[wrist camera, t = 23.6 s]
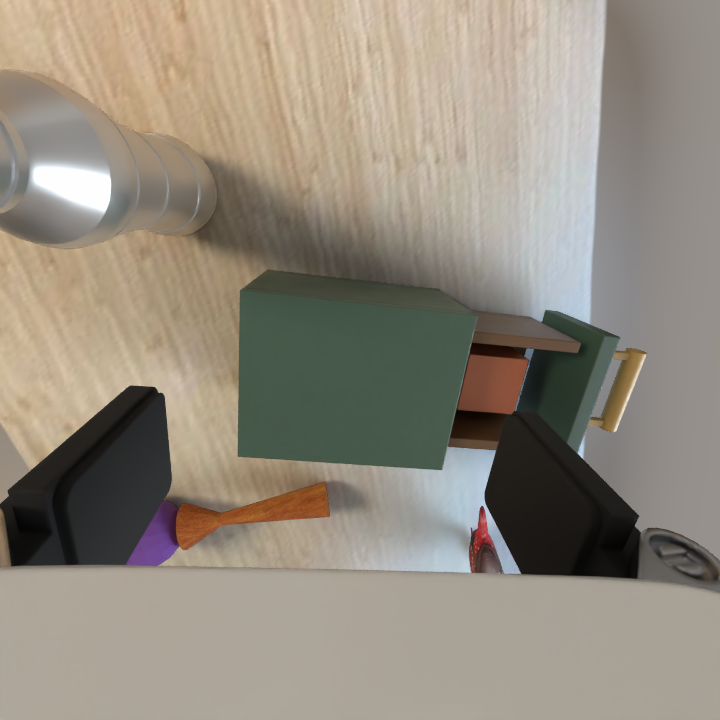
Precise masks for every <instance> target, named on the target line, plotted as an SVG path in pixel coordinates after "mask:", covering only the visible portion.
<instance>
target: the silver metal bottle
mask: <svg viewBox="0 0 720 720" xmlns="http://www.w3.org/2000/svg"><path fill="white" fill-rule="evenodd" d="M216 202H217V189H216V184H215V181H214V178H213V176H212V173H211V171H210V170H209V168H208V166H207V165H206V163H205V162H204V161H203V160H202V159H201V157H200V156H199V155H198V154H197V153H196V152H195V151H194V150H193V149H192V148H191V147H189V146H188V145H187V144H185V143H184V142H182V141H180V140H179V139H177V138H174V137H171V136H168V135H164V134H157V133H151V132H143V133H142V132H138V131H134V130H131V129H129V128H127V127H126V126H124V125H122V124H120V123H118V122H117V121H115V120H114V119H113V118H111V117H110V116H109V115H107V114H106V113H105V112H103V111H102V110H101V109H100V108H98V107H97V106H96V105H94V104H93V103H92V102H90V101H89V100H88V99H87V98H85V97H83V96H82V95H80V94H78V93H77V92H75V91H74V90H72V89H70V88H68V87H67V86H65V85H63V84H62V83H60V82H58V81H56V80H54V79H52V78H49V77H46V76H44V75H41V74H38V73H34V72H28V71H22V70H10V69H0V230H2V231H4V232H6V233H8V234H10V235H12V236H14V237H17V238H20V239H23V240H26V241H30V242H33V243H36V244H40V245H43V246H47V247H52V248H60V249H74V248H82V247H86V246H90V245H94V244H98V243H101V242H104V241H106V240H109V239H111V238H114V237H116V236H118V235H121V234H123V233H125V232H131V231H135V230H146V231H150V232H153V233H156V234H160V235H166V236H184V235H188V234H191V233H193V232H195V231H197V230H199V229H200V228H201V227H202V226H203V225H205V224H206V223H207V222H208V221H209V219H210V218H211V216H212V215H213V213H214V210H215V208H216Z"/></svg>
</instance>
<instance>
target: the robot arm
mask: <svg viewBox="0 0 720 720" xmlns="http://www.w3.org/2000/svg"><path fill="white" fill-rule="evenodd" d="M171 481H172V474H171V463H170V452H169V440H168V429H167V418H166V406H165V397H164V395H163V393H158V391H157V389H156V388H155V387H146V386H129V387H128V388H126V389H125V390H124V391H123V392H122V393H121V394H119V395H118V396H117V397H116V398H115V399H114V400H112V401H111V402H110V403H109V404H108V405H107V406H105V407H104V408H103V409H102V410H101V411H100V412H98V413H97V414H96V415H95V416H94V417H93V418H91V419H90V420H89V421H88V422H87V423H86V424H84V425H83V426H82V427H81V428H80V429H79V430H77V431H76V432H75V433H74V434H73V435H72V436H70V437H69V438H68V439H67V440H66V441H65V442H63V443H62V444H61V445H60V446H59V447H58V448H56V449H55V450H54V451H53V452H52V453H51V454H50V455H48V456H47V457H46V458H45V459H44V460H43V461H41V462H40V463H39V464H38V465H37V466H36V467H34V468H33V469H32V470H31V471H30V472H29V473H28V474H26V475H25V476H24V477H23V478H22V479H20V480H19V481H18V482H17V483H16V484H15V485H13V486H12V487H11V488H10V489H9V490H8V494H9V497H7V498H6V499H5V500H4V501H3V502H2V503H1V504H0V720H720V561H719V559H718V558H716V557H715V556H714V555H713V554H711V553H710V552H709V551H708V550H707V549H705V548H704V547H702V546H701V545H699V544H698V543H696V542H695V541H693V540H690V539H688V538H687V537H685V536H683V535H681V534H678V533H675V532H672V531H669V530H666V529H660V528H648V529H645V530H643V531H642V532H640V531H639V530H638V529H637V528H636V527H635V524H636V522H637V519H638V517H639V515H638V514H637V513H636V512H635V511H634V510H633V509H632V508H631V507H630V506H629V505H628V504H627V503H626V502H625V501H624V500H623V499H622V498H621V497H620V496H619V495H618V494H617V493H616V492H615V491H614V490H613V489H612V488H611V487H610V486H609V485H608V484H607V483H606V482H605V481H604V480H603V479H602V478H601V477H600V476H599V475H598V474H597V473H596V472H595V471H594V470H593V469H592V468H591V467H590V466H589V465H588V464H587V463H586V462H585V461H584V460H583V459H582V458H581V457H580V456H579V455H578V454H577V453H576V452H575V451H574V450H573V449H572V448H571V447H570V446H569V445H568V444H567V443H566V442H565V441H564V440H563V439H562V438H561V437H560V436H559V435H558V434H557V433H556V432H555V431H554V430H553V429H552V428H551V427H550V426H549V425H548V424H547V423H546V422H545V421H544V420H543V419H542V418H541V417H540V416H539V415H538V414H537V413H536V412H523V411H514V412H513V413H512V414H511V416H507V417H506V418H505V421H504V425H503V428H502V432H501V435H500V439H499V443H498V446H497V450H496V453H495V457H494V461H493V464H492V468H491V471H490V475H489V479H488V482H487V486H486V489H485V503H486V505H487V507H488V509H489V511H490V513H491V515H492V517H493V519H494V521H495V523H496V525H497V527H498V529H499V531H500V533H501V535H502V537H503V539H504V541H505V543H506V545H507V546H508V548H509V550H510V552H511V554H512V556H513V558H514V560H515V562H516V564H517V566H518V568H519V570H520V572H521V574H495V573H459V572H421V571H381V570H339V569H295V568H246V567H192V566H137V565H126V563H127V561H128V560H129V558H130V556H131V555H132V553H133V551H134V550H135V548H136V546H137V544H138V543H139V541H140V539H141V538H142V536H143V534H144V533H145V531H146V529H147V527H148V526H149V524H150V522H151V521H152V519H153V517H154V516H155V514H156V512H157V510H158V509H159V507H160V505H161V504H162V502H163V500H164V499H165V497H166V495H167V494H168V492H169V489H170V486H171Z"/></svg>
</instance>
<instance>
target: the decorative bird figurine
mask: <svg viewBox="0 0 720 720" xmlns="http://www.w3.org/2000/svg"><path fill="white" fill-rule="evenodd" d="M469 559H470V567H471V572H472V573H495V574H504V573H503V570H502V566H501V563H500V560H499V557H498V555H497V552H496V549H495V546H494V543H493V541H492V539H491V537H490V536H489V534H488V529H487V522H486V514H485V510H484V507H483V506H481V508H480V511H479V522H478V529H477V530H475V531H473V530H472V528H471V542H470V547H469Z"/></svg>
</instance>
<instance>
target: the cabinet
mask: <svg viewBox="0 0 720 720" xmlns="http://www.w3.org/2000/svg"><path fill="white" fill-rule="evenodd" d="M477 317H478V316H477V315H476V314H474V313H473V312H471V311H470V310H468V309H467V308H465V307H464V306H462V305H461V304H459V303H458V302H457V301H455V300H454V299H452V298H451V297H449V296H448V295H446V294H445V293H443V292H442V291H440V290H439V289H432V288H424V287H415V286H406V285H397V284H388V283H380V282H371V281H362V280H353V279H345V278H336V277H327V276H318V275H309V274H301V273H292V272H283V271H274V270H267V271H265V272H264V273H263V274H261V275H260V276H259V277H257V278H256V279H255V280H253V281H252V282H251V283H249V284H248V285H247V286H245V287H244V288H243V289H241V290H240V332H239V402H238V457H251V458H266V459H282V460H297V461H312V462H327V463H342V464H357V465H373V466H388V467H403V468H418V469H433V470H442V468H443V464H444V459H445V455H446V451H447V446H448V442H449V438H450V434H451V429H452V425H453V421H454V416H455V412H456V408H457V403H458V399H459V395H460V390H461V386H462V382H463V377H464V373H465V369H466V364H467V360H468V356H469V351H470V347H471V343H472V338H473V334H474V330H475V326H476V321H477Z"/></svg>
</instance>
